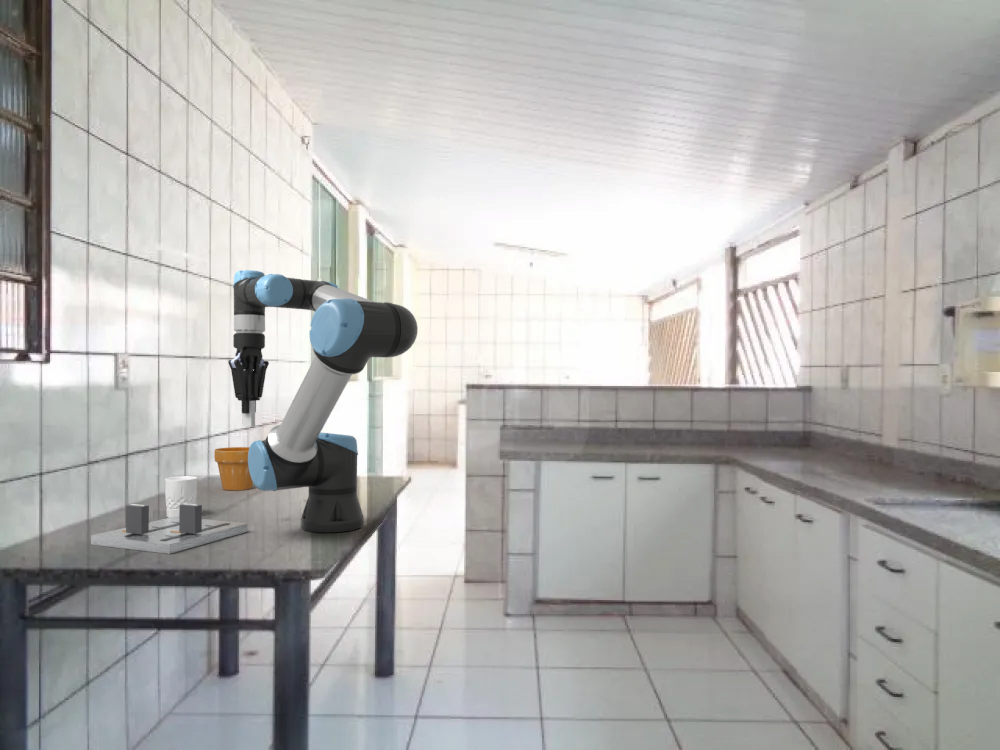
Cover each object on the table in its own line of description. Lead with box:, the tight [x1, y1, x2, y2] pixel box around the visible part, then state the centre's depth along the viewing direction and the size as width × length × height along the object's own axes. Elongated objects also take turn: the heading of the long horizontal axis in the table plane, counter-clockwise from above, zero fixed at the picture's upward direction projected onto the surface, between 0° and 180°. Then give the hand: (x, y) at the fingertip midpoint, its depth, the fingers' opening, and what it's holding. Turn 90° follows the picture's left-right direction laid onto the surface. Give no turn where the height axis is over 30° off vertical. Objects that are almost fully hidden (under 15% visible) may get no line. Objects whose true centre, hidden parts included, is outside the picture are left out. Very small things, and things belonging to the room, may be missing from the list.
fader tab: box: [125, 503, 150, 534], centre depth 163 cm, size 4×2×6 cm, turn 69°
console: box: [90, 516, 249, 555], centre depth 169 cm, size 22×24×2 cm
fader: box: [179, 503, 203, 534], centre depth 165 cm, size 4×2×6 cm, turn 69°
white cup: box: [164, 475, 198, 518], centre depth 195 cm, size 8×8×10 cm
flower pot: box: [214, 446, 254, 491], centre depth 243 cm, size 14×14×13 cm
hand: (248, 426), depth 187 cm, fingers closed
